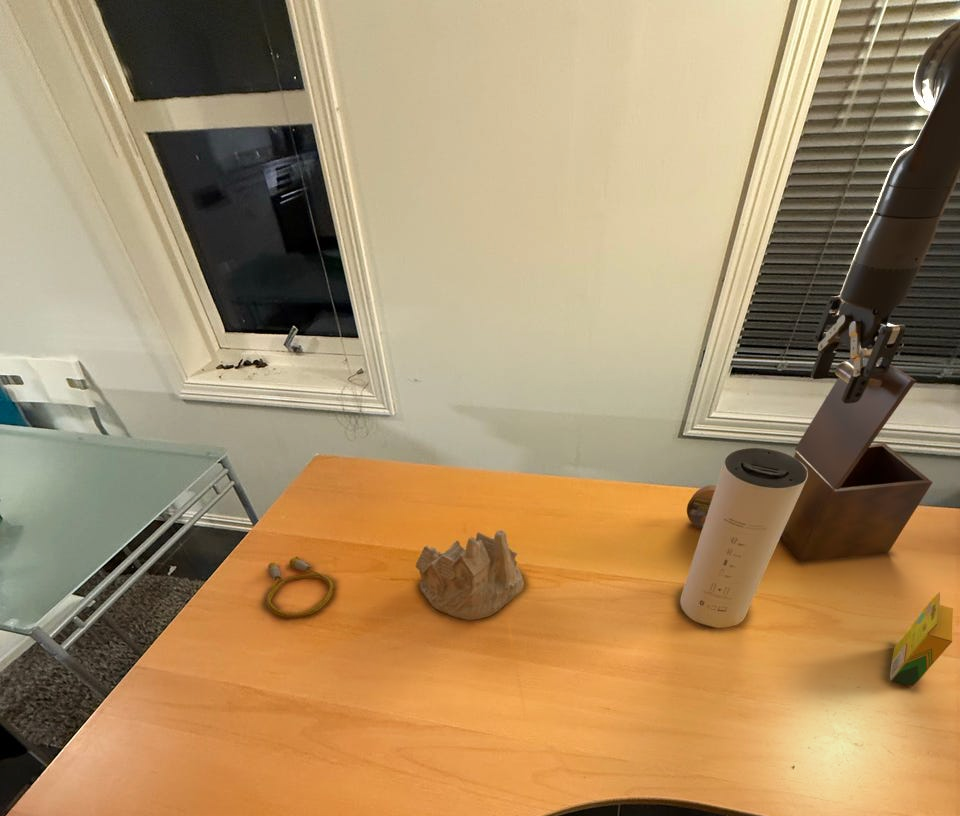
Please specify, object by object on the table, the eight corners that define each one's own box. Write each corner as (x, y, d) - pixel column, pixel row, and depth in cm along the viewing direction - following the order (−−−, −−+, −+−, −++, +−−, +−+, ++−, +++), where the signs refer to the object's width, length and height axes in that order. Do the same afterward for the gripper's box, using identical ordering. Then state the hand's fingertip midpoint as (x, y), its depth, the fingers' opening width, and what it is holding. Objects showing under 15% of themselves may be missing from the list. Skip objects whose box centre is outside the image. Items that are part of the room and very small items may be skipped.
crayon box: (912, 689, 77) (961, 632, 68) (888, 681, 78) (934, 624, 69) (916, 654, 81) (963, 597, 72) (893, 647, 82) (937, 590, 73)
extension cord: (335, 558, 104) (333, 549, 102) (332, 615, 93) (329, 606, 92) (271, 566, 103) (267, 558, 101) (260, 624, 92) (256, 616, 91)
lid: (862, 346, 82) (831, 341, 81) (916, 380, 73) (882, 375, 72) (798, 449, 94) (770, 446, 93) (838, 489, 85) (808, 486, 84)
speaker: (756, 603, 90) (821, 457, 70) (731, 640, 84) (794, 494, 65) (695, 578, 95) (741, 436, 75) (668, 612, 89) (709, 468, 70)
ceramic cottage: (536, 586, 95) (532, 513, 84) (464, 635, 89) (448, 562, 78) (480, 550, 104) (469, 480, 93) (411, 592, 98) (391, 522, 87)
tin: (682, 525, 105) (692, 486, 99) (686, 516, 107) (696, 478, 101) (764, 544, 100) (781, 505, 94) (767, 535, 102) (783, 495, 95)
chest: (847, 513, 105) (884, 443, 94) (887, 554, 96) (933, 482, 86) (767, 521, 104) (795, 451, 94) (800, 563, 96) (835, 491, 85)
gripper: (956, 270, 63) (886, 408, 75) (883, 242, 73) (831, 368, 84) (893, 276, 63) (833, 413, 75) (828, 246, 72) (784, 372, 84)
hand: (832, 389), depth 80 cm, fingers open, 8 cm apart
